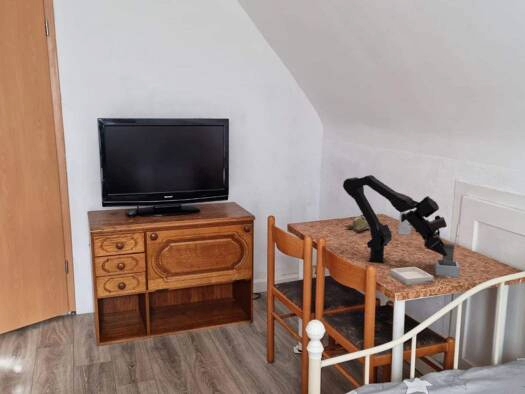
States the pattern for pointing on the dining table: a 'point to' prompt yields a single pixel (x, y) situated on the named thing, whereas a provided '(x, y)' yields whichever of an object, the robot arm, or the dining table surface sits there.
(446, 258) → the dark grey pillar
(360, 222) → the ceramic sculpture
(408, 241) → the dining table surface
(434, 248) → the robot arm
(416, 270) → the tray
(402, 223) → the skincare box
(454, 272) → the square frame
